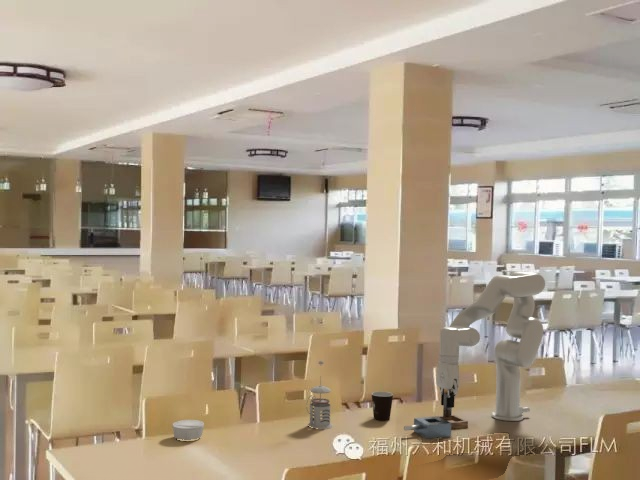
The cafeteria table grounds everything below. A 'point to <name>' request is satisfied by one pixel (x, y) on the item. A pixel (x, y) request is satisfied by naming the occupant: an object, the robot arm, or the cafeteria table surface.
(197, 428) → the ramekin
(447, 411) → the orange grey cylinder
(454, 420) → the tray
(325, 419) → the french press
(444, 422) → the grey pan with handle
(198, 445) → the cafeteria table surface
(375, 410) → the coffee mug
